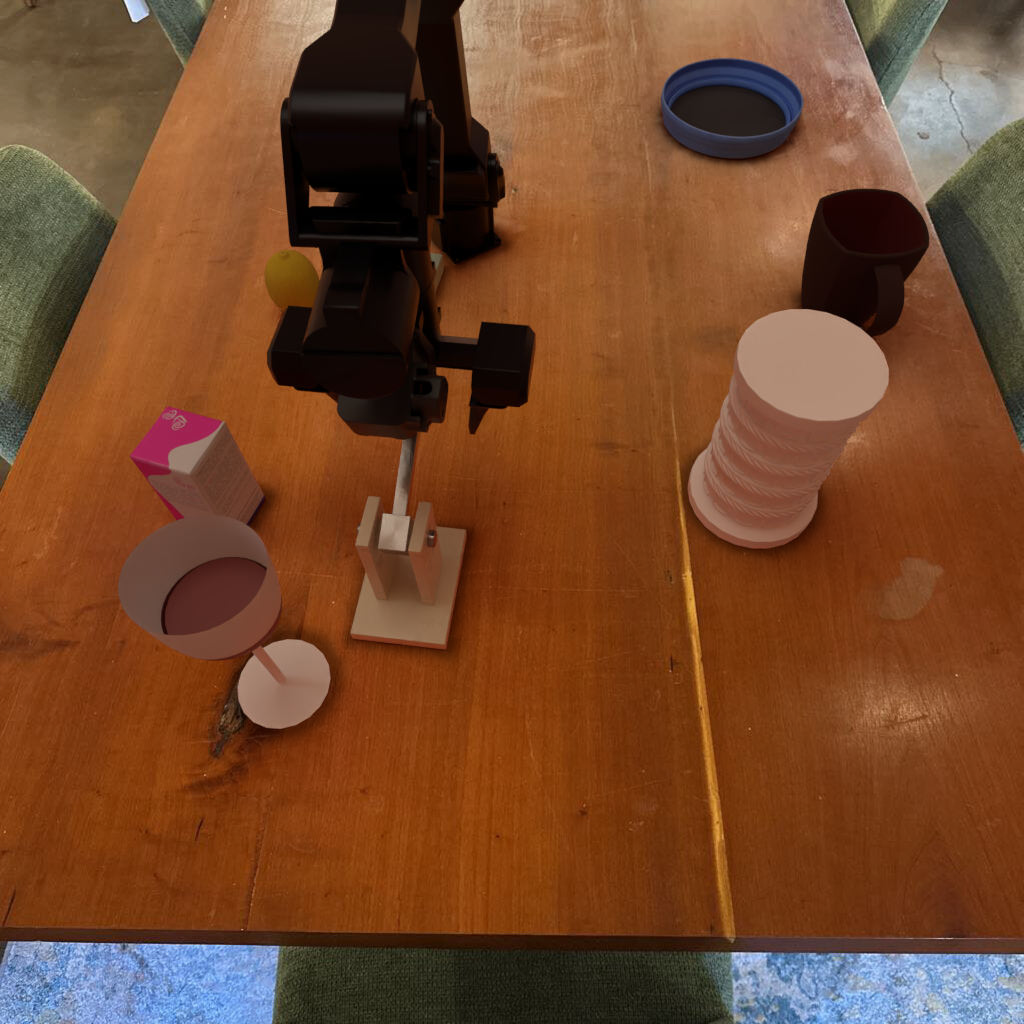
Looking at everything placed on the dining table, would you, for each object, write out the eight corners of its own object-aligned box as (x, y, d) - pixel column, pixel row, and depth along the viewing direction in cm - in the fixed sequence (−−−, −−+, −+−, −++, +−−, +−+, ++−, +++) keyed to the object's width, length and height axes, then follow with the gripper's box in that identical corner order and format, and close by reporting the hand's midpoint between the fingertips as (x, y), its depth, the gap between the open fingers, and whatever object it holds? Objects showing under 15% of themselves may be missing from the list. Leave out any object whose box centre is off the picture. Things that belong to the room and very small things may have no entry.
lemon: (318, 332, 82) (299, 274, 76) (269, 325, 83) (246, 267, 76) (334, 297, 85) (317, 238, 78) (287, 290, 86) (266, 231, 79)
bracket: (380, 526, 70) (358, 458, 61) (466, 535, 69) (458, 468, 60) (352, 638, 64) (323, 582, 55) (446, 650, 64) (432, 595, 54)
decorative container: (661, 485, 72) (698, 352, 56) (747, 424, 75) (805, 283, 60) (752, 572, 67) (820, 452, 51) (840, 503, 70) (928, 372, 55)
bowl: (815, 108, 103) (824, 81, 100) (762, 180, 95) (770, 154, 92) (693, 69, 108) (698, 43, 105) (634, 135, 100) (637, 108, 97)
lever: (402, 398, 63) (394, 384, 60) (440, 401, 63) (434, 387, 59) (378, 553, 60) (369, 547, 57) (418, 557, 60) (411, 551, 57)
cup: (859, 278, 86) (905, 184, 75) (904, 372, 78) (961, 282, 68) (772, 285, 85) (806, 191, 75) (809, 380, 78) (852, 290, 68)
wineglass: (235, 641, 64) (130, 520, 47) (339, 632, 64) (272, 509, 47) (225, 736, 60) (106, 641, 43) (335, 726, 60) (261, 628, 43)
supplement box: (268, 496, 72) (227, 420, 62) (236, 548, 69) (188, 478, 59) (214, 479, 73) (165, 402, 63) (180, 530, 70) (124, 458, 60)
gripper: (207, 357, 46) (279, 496, 59) (517, 385, 44) (518, 521, 58) (262, 233, 51) (316, 386, 65) (538, 254, 50) (535, 406, 63)
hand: (417, 425), depth 62 cm, fingers open, 9 cm apart
